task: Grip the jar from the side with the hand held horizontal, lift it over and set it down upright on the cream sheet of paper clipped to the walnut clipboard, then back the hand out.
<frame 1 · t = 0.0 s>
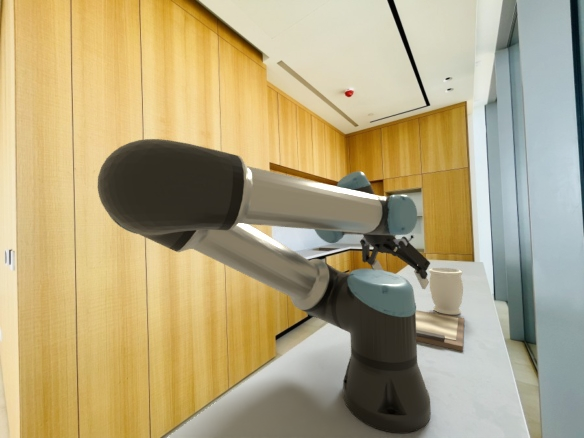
hand: (402, 281, 74), 15 cm above the countertop, tool tilted 35°, fingers open, 13 cm apart
clipboard: (432, 328, 76), on the countertop
jar: (447, 311, 90), on the countertop
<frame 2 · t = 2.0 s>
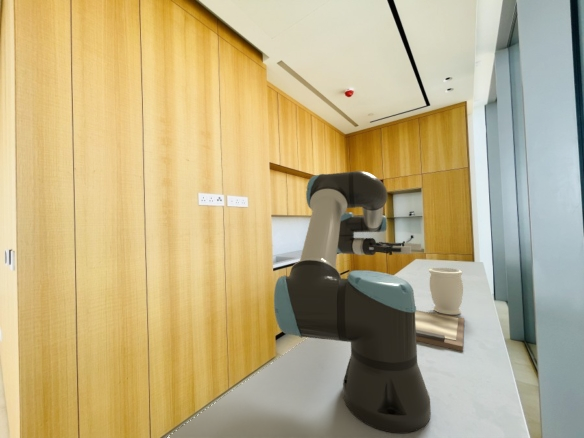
hand: (416, 248, 96), 22 cm above the countertop, tool horizontal, fingers open, 13 cm apart
nothing on the countertop moved.
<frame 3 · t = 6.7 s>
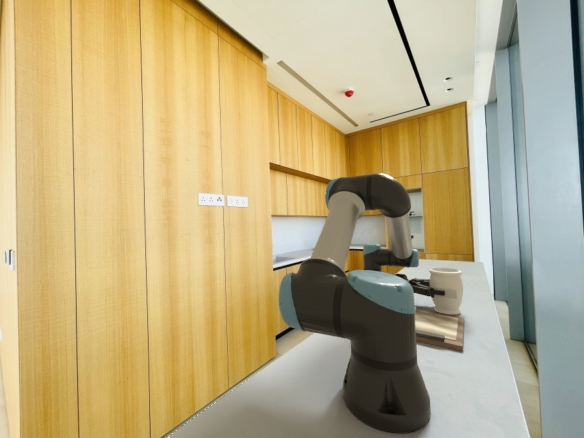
hand: (459, 290, 87), 8 cm above the countertop, tool horizontal, fingers closed on jar, 11 cm apart
jar: (447, 311, 90), on the countertop, touching gripper
when the fingers open (11 cm above the countertop, at t = 12.2 s): jar drops 2 cm, resting on clipboard.
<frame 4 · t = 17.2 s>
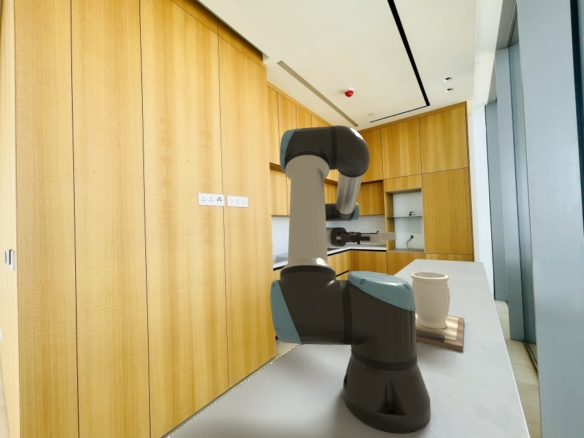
hand: (388, 237, 83), 28 cm above the countertop, tool horizontal, fingers open, 13 cm apart
jar: (431, 324, 76), point 1 cm above the countertop, touching clipboard
at the end: jar inside the target area on the clipboard (0.1 cm from its centre), point 1.2 cm above the clipboard's base; jar tilted 0°; the gripper is holding nothing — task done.
